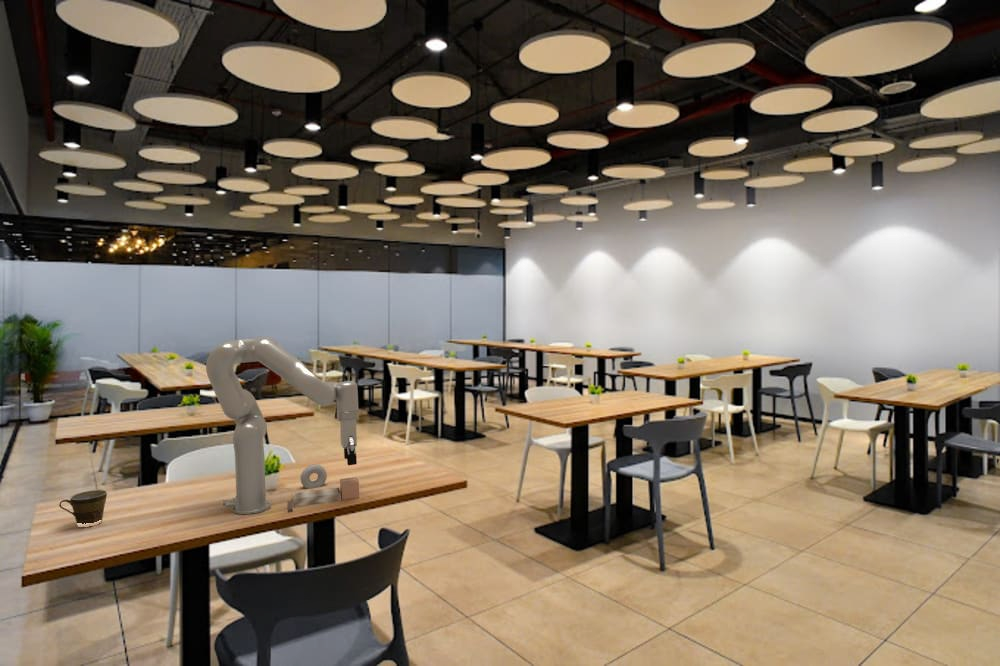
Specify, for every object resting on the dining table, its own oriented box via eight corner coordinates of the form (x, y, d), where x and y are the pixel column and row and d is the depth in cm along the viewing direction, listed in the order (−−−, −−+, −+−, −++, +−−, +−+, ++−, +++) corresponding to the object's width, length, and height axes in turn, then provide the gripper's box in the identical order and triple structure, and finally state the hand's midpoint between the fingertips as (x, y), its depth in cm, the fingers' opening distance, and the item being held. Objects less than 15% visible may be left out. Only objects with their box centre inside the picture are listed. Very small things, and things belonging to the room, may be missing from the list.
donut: (301, 493, 223) (301, 467, 222) (299, 490, 226) (299, 465, 225) (328, 488, 228) (327, 463, 228) (325, 486, 231) (325, 461, 231)
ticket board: (288, 512, 202) (287, 500, 202) (287, 503, 211) (287, 492, 211) (391, 498, 215) (391, 487, 215) (386, 491, 224) (386, 480, 224)
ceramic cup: (110, 517, 200) (108, 488, 199) (105, 526, 191) (104, 496, 190) (63, 523, 194) (62, 494, 193) (57, 534, 185) (55, 503, 184)
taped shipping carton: (342, 499, 210) (341, 483, 210) (340, 495, 216) (340, 478, 216) (359, 497, 212) (358, 481, 212) (357, 493, 218) (356, 476, 218)
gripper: (335, 412, 220) (337, 457, 220) (340, 420, 203) (342, 468, 204) (355, 410, 222) (357, 454, 223) (361, 418, 206) (364, 466, 207)
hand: (350, 461), depth 214 cm, fingers open, 9 cm apart
